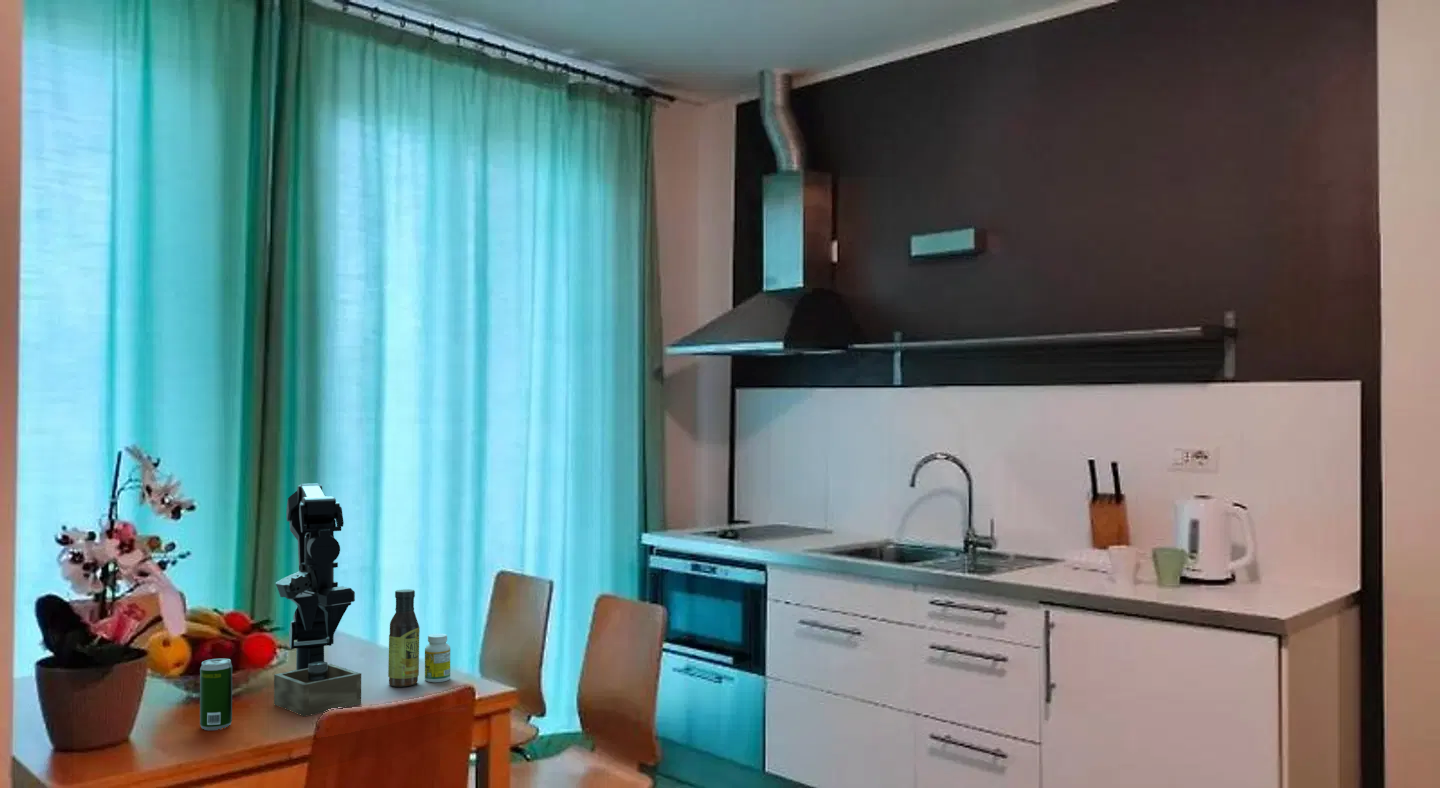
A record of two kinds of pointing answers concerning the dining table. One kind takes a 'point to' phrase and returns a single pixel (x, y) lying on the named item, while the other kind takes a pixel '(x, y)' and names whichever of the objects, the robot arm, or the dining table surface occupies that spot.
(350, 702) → the frame
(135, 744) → the dining table surface
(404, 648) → the sauce bottle
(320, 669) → the plunger
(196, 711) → the dining table surface
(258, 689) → the dining table surface
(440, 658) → the supplement bottle
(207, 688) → the beer can
